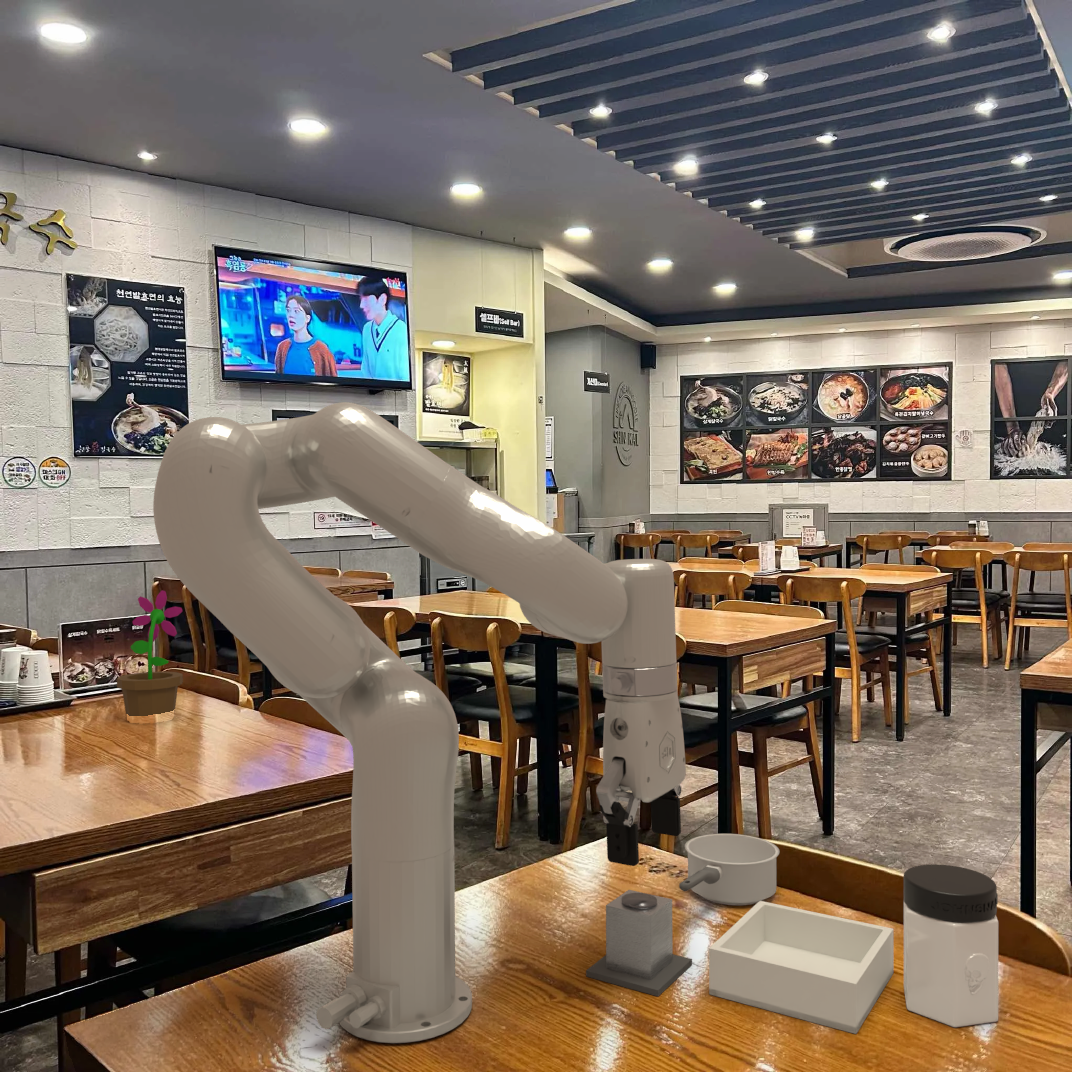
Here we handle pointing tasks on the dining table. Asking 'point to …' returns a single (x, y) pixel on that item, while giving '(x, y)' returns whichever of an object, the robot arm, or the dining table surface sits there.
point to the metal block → (639, 934)
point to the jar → (951, 944)
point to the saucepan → (731, 868)
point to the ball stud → (641, 984)
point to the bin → (803, 965)
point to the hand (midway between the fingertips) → (645, 847)
